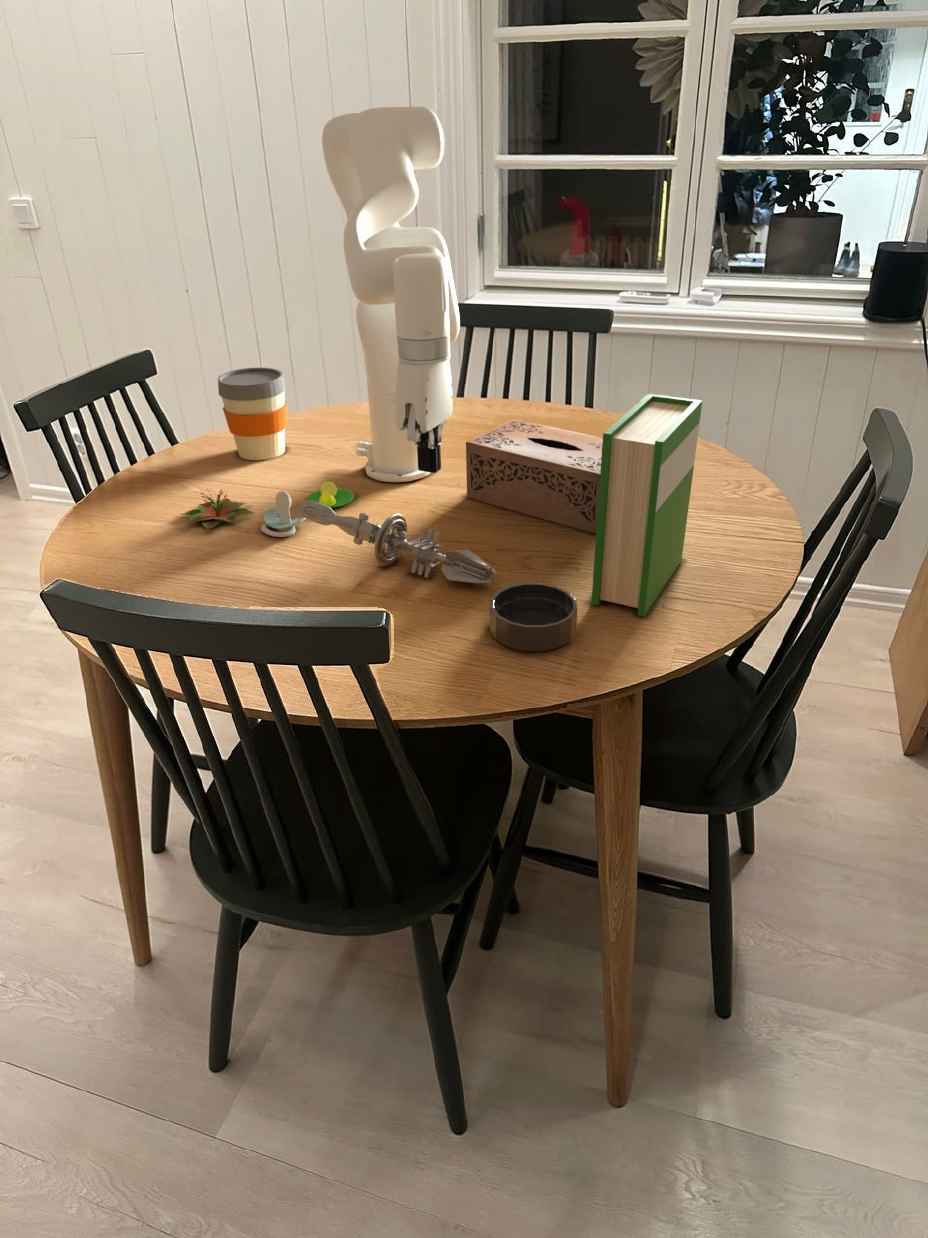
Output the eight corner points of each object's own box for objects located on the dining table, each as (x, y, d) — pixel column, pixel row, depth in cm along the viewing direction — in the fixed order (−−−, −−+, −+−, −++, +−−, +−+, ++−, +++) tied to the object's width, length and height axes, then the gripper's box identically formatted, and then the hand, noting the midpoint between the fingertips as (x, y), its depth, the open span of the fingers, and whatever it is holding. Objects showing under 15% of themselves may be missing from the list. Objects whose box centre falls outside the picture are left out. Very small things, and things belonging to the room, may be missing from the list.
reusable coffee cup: (307, 447, 168) (297, 372, 161) (262, 468, 160) (250, 389, 152) (261, 437, 174) (250, 363, 166) (216, 456, 165) (201, 379, 158)
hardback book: (644, 616, 111) (663, 442, 99) (591, 604, 114) (603, 433, 102) (681, 560, 125) (702, 400, 112) (633, 550, 128) (648, 393, 115)
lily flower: (268, 516, 141) (264, 490, 138) (204, 539, 134) (199, 513, 131) (230, 496, 148) (226, 472, 146) (167, 517, 141) (162, 492, 139)
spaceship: (317, 480, 133) (285, 479, 126) (512, 549, 119) (489, 551, 112) (306, 529, 135) (274, 530, 128) (497, 601, 121) (474, 607, 114)
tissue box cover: (466, 497, 146) (465, 441, 141) (513, 471, 156) (514, 418, 150) (597, 534, 133) (602, 474, 127) (640, 503, 142) (645, 446, 137)
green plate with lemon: (303, 496, 148) (301, 481, 146) (347, 488, 150) (345, 473, 149) (314, 513, 141) (312, 498, 140) (360, 505, 144) (359, 489, 142)
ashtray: (476, 642, 107) (475, 615, 105) (509, 602, 115) (510, 576, 113) (558, 662, 103) (559, 634, 101) (586, 618, 111) (588, 592, 109)
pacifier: (285, 543, 132) (311, 528, 137) (279, 507, 129) (306, 492, 133) (252, 532, 136) (279, 518, 140) (245, 497, 133) (273, 483, 137)
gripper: (424, 335, 128) (430, 451, 137) (374, 357, 116) (384, 483, 125) (469, 338, 125) (472, 457, 134) (422, 362, 113) (429, 490, 123)
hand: (429, 469), depth 130 cm, fingers closed
